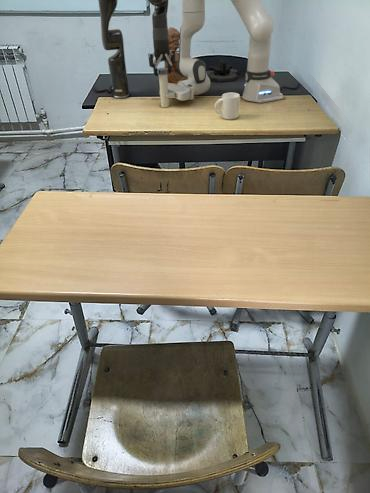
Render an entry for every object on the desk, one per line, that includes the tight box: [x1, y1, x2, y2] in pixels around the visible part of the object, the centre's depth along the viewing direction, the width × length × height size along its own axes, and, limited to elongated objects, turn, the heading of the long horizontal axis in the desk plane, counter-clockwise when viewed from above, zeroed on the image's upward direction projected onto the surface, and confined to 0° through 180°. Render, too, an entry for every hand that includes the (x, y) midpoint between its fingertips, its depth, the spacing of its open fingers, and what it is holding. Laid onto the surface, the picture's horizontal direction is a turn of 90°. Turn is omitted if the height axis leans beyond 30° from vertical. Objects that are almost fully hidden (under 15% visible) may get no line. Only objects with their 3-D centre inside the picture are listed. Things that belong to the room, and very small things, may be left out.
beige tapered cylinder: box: [158, 74, 170, 108], centre depth 186 cm, size 4×4×18 cm
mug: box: [214, 92, 241, 120], centre depth 173 cm, size 12×8×10 cm
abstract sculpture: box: [206, 58, 239, 83], centre depth 227 cm, size 25×9×20 cm
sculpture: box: [157, 27, 188, 86], centre depth 214 cm, size 27×24×30 cm
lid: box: [157, 67, 168, 75], centre depth 181 cm, size 5×5×2 cm
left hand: (163, 74), depth 182 cm, fingers open, 7 cm apart
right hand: (162, 94), depth 188 cm, fingers closed on beige tapered cylinder, 4 cm apart
